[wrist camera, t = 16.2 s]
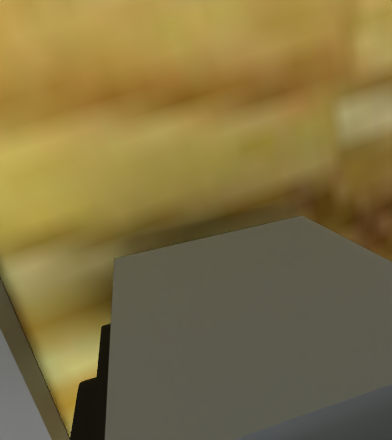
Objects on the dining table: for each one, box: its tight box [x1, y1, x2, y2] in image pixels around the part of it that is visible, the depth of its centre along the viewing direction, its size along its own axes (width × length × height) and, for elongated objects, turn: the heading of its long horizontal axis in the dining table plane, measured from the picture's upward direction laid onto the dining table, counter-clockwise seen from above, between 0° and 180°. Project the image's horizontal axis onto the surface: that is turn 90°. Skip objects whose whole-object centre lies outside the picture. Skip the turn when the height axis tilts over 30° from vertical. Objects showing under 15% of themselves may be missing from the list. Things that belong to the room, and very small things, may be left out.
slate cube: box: [105, 216, 392, 440], centre depth 8 cm, size 6×6×6 cm
